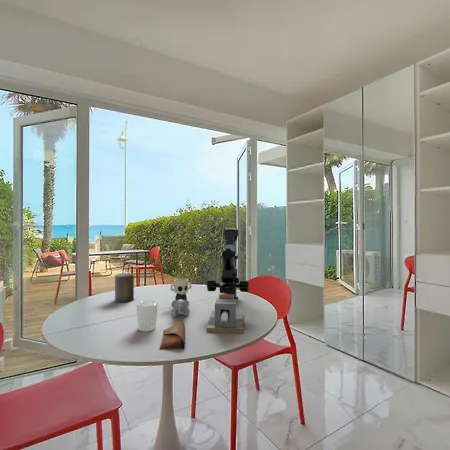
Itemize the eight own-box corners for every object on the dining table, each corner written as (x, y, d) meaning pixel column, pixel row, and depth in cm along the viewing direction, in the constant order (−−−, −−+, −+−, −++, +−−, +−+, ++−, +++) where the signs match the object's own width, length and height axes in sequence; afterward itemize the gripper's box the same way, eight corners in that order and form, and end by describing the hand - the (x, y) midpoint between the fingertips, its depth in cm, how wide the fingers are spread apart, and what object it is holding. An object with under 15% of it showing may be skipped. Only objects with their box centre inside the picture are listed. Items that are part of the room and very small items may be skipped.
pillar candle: (137, 299, 152) (137, 271, 152) (122, 303, 144) (122, 274, 144) (126, 297, 157) (125, 270, 157) (110, 300, 149) (110, 272, 149)
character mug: (172, 309, 135) (172, 282, 135) (168, 305, 141) (168, 279, 141) (193, 306, 140) (194, 280, 140) (188, 302, 146) (188, 277, 146)
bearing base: (212, 314, 128) (212, 291, 128) (243, 314, 127) (243, 291, 127) (206, 331, 107) (206, 304, 107) (243, 332, 106) (243, 305, 106)
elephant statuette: (187, 312, 132) (187, 295, 132) (195, 318, 121) (195, 300, 121) (168, 315, 128) (167, 298, 128) (174, 321, 117) (174, 303, 117)
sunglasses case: (162, 329, 109) (171, 314, 109) (178, 337, 110) (187, 322, 110) (158, 350, 91) (169, 332, 91) (177, 360, 92) (188, 342, 92)
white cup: (146, 333, 104) (146, 307, 104) (132, 329, 109) (132, 303, 109) (161, 327, 111) (161, 302, 111) (147, 323, 115) (147, 299, 115)
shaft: (219, 316, 118) (219, 292, 118) (233, 316, 118) (233, 293, 118) (215, 331, 101) (215, 304, 101) (232, 332, 101) (232, 304, 101)
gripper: (207, 262, 126) (203, 292, 115) (248, 262, 125) (249, 293, 114) (209, 276, 134) (206, 305, 123) (248, 276, 133) (248, 306, 122)
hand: (226, 302), depth 120 cm, fingers closed
